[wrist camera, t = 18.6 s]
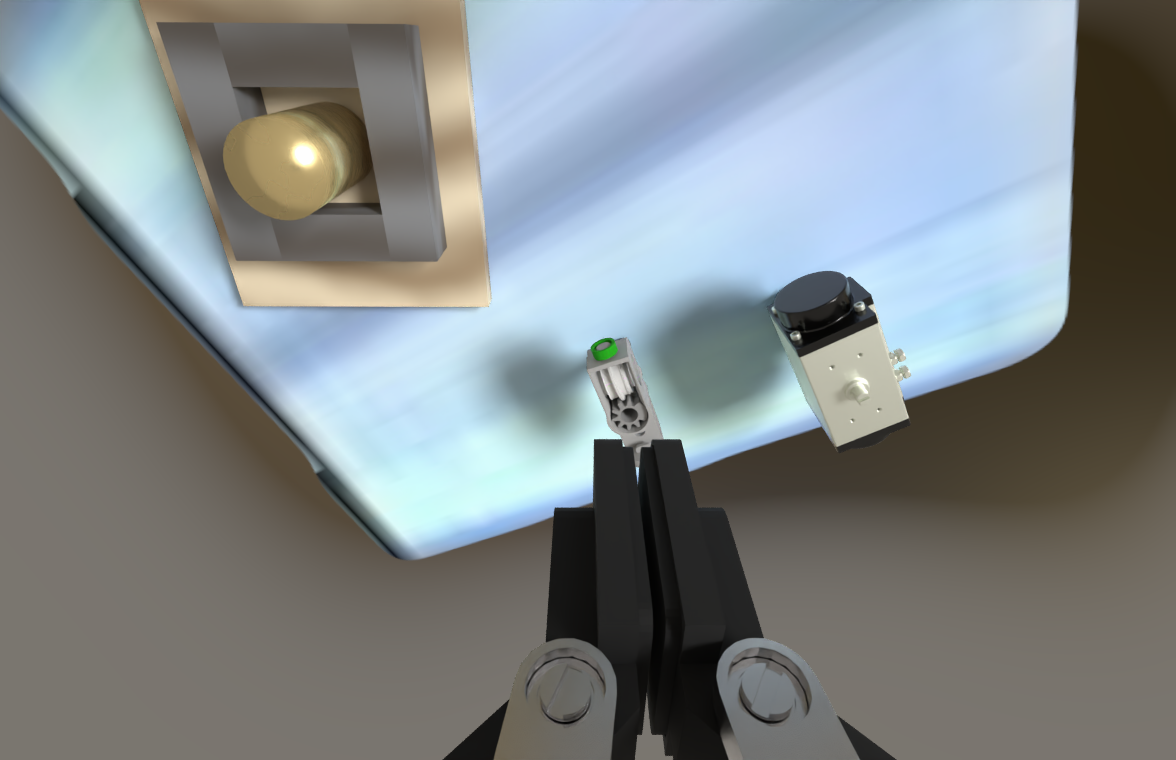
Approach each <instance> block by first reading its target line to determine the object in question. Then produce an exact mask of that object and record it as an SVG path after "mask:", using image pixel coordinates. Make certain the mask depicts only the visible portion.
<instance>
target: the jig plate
mask: <svg viewBox="0 0 1176 760" xmlns="http://www.w3.org/2000/svg"><path fill="white" fill-rule="evenodd" d="M139 2H140V5H141V8H142V11H143V14H144V17H145V20H146V23H147V26H148V29H149V32H150V34H151V37H152V40H153V43H154V46H155V49H156V52H157V55H158V58H159V61H160V64H161V66H162V69H163V72H164V75H165V78H166V81H167V84H168V87H169V90H170V93H171V96H172V98H173V101H174V104H175V107H176V110H177V113H178V116H179V119H180V122H181V125H182V128H183V131H184V133H185V136H186V139H187V142H188V145H189V148H190V151H191V154H192V157H193V160H194V163H195V165H196V168H197V171H198V174H199V177H200V180H201V183H202V186H203V189H204V192H205V195H206V197H207V200H208V203H209V206H210V209H211V212H212V215H213V218H214V221H215V224H216V227H217V229H218V232H219V235H220V238H221V241H222V244H223V247H224V250H225V253H226V256H227V259H228V262H229V264H230V267H231V270H232V273H233V276H234V279H235V282H236V285H237V288H238V291H239V294H240V296H241V299H242V302H243V305H244V306H367V307H489V305H490V302H491V299H492V298H491V287H490V276H489V265H488V254H487V243H486V232H485V221H484V210H483V199H482V188H481V177H480V166H479V155H478V144H477V133H476V122H475V111H474V100H473V89H472V78H471V67H470V56H469V45H468V34H467V23H466V12H465V1H464V0H139ZM316 102H333V103H337V104H340V105H342V106H344V107H346V108H348V109H349V110H351V111H352V112H353V113H355V114H356V115H357V116H358V117H359V118H360V119H361V120H362V122H363V123H364V124H365V126H366V129H367V135H368V140H369V145H370V151H371V156H372V162H373V166H372V169H371V170H370V172H369V174H368V175H367V176H366V177H365V178H364V179H363V180H362V181H360V182H359V183H357V184H356V185H354V186H353V187H351V188H350V189H348V190H347V191H345V192H344V193H342V194H341V195H339V196H338V197H336V198H335V199H333V200H332V201H330V202H328V203H327V204H325V205H324V206H322V207H321V208H319V209H318V210H316V211H315V212H313V213H312V214H310V215H309V216H307V217H305V218H302V219H298V220H279V219H275V218H272V217H269V216H266V215H264V214H262V213H260V212H259V211H257V210H255V209H254V208H253V207H251V206H250V205H249V204H248V203H246V202H245V201H244V200H243V199H242V198H241V196H240V195H239V194H238V193H237V192H236V190H235V189H234V187H233V186H232V184H231V182H230V180H229V178H228V176H227V173H226V170H225V166H224V161H223V148H224V143H225V140H226V138H227V136H228V134H229V133H230V131H231V130H232V129H233V128H234V127H235V126H236V125H237V124H239V123H241V122H242V121H244V120H248V119H251V118H255V117H259V116H263V115H267V114H271V113H275V112H279V111H283V110H287V109H291V108H295V107H299V106H303V105H308V104H312V103H316Z"/></svg>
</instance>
